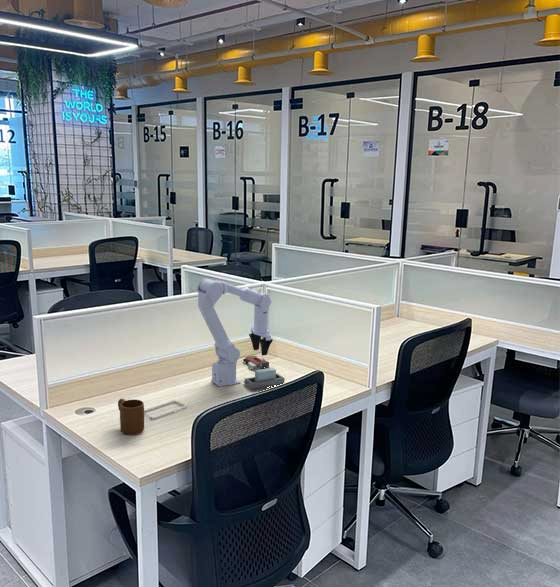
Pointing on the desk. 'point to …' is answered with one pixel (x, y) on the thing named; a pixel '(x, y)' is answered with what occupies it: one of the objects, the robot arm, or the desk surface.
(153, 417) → the grey rectangular frame
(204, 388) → the desk surface
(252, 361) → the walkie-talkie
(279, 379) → the grey rectangular tray
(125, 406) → the mug
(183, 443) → the desk surface
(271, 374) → the blue-grey block
